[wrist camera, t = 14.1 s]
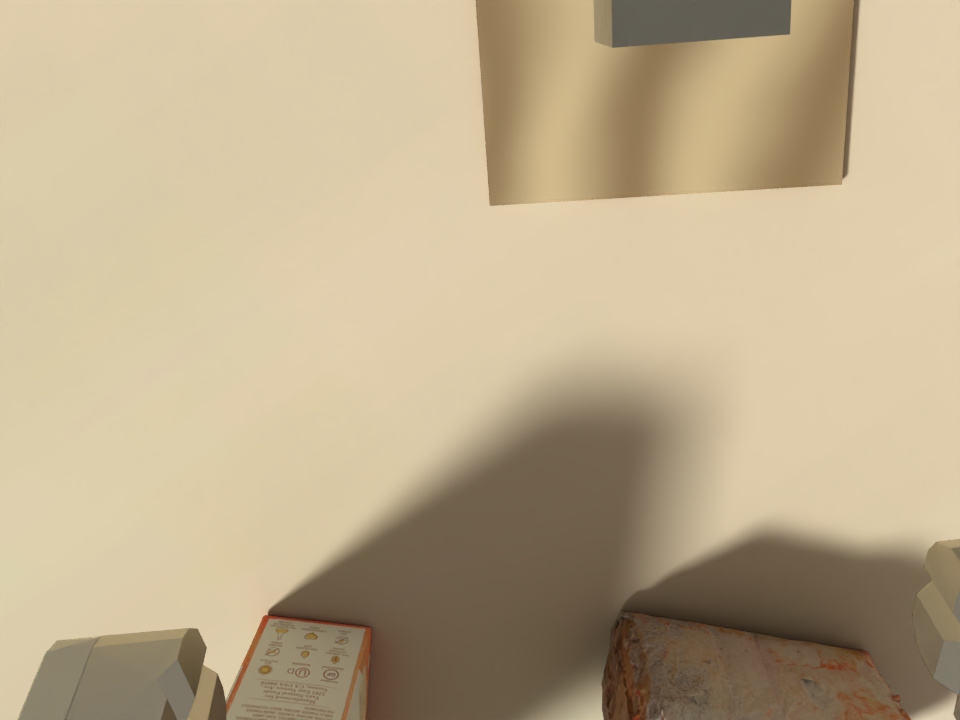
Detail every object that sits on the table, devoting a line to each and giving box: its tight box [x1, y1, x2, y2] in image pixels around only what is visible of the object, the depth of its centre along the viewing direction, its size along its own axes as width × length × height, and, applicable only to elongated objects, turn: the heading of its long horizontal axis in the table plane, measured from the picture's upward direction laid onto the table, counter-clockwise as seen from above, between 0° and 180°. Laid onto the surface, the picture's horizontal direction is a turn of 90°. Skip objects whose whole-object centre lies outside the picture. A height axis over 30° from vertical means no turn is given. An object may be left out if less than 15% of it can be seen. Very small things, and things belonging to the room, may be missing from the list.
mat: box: [476, 0, 854, 206], centre depth 34 cm, size 14×14×1 cm
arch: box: [593, 0, 792, 48], centre depth 30 cm, size 5×2×9 cm, turn 94°
